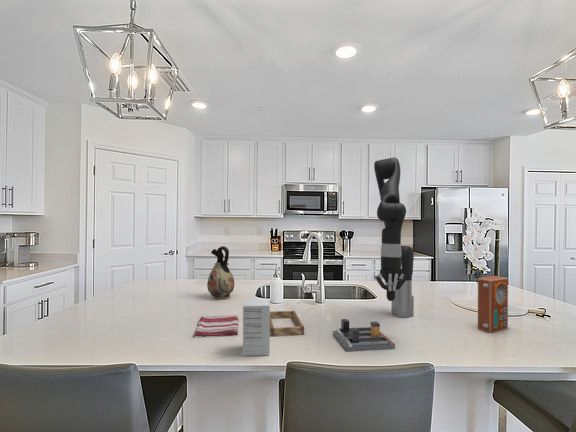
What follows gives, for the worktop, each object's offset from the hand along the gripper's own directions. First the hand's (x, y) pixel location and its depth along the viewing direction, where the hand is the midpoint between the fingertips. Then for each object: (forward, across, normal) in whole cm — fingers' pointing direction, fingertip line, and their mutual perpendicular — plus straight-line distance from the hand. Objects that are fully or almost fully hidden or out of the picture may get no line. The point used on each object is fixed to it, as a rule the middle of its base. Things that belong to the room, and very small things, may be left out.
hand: (390, 300), depth 124 cm
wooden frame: (+15, +38, -21) cm, 46 cm away
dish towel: (+16, +66, -24) cm, 72 cm away
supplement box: (+16, +51, +3) cm, 54 cm away
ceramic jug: (+15, +68, -73) cm, 100 cm away
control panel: (+15, -49, -6) cm, 51 cm away
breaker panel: (+15, +11, 0) cm, 19 cm away
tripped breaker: (+13, +6, 0) cm, 15 cm away
